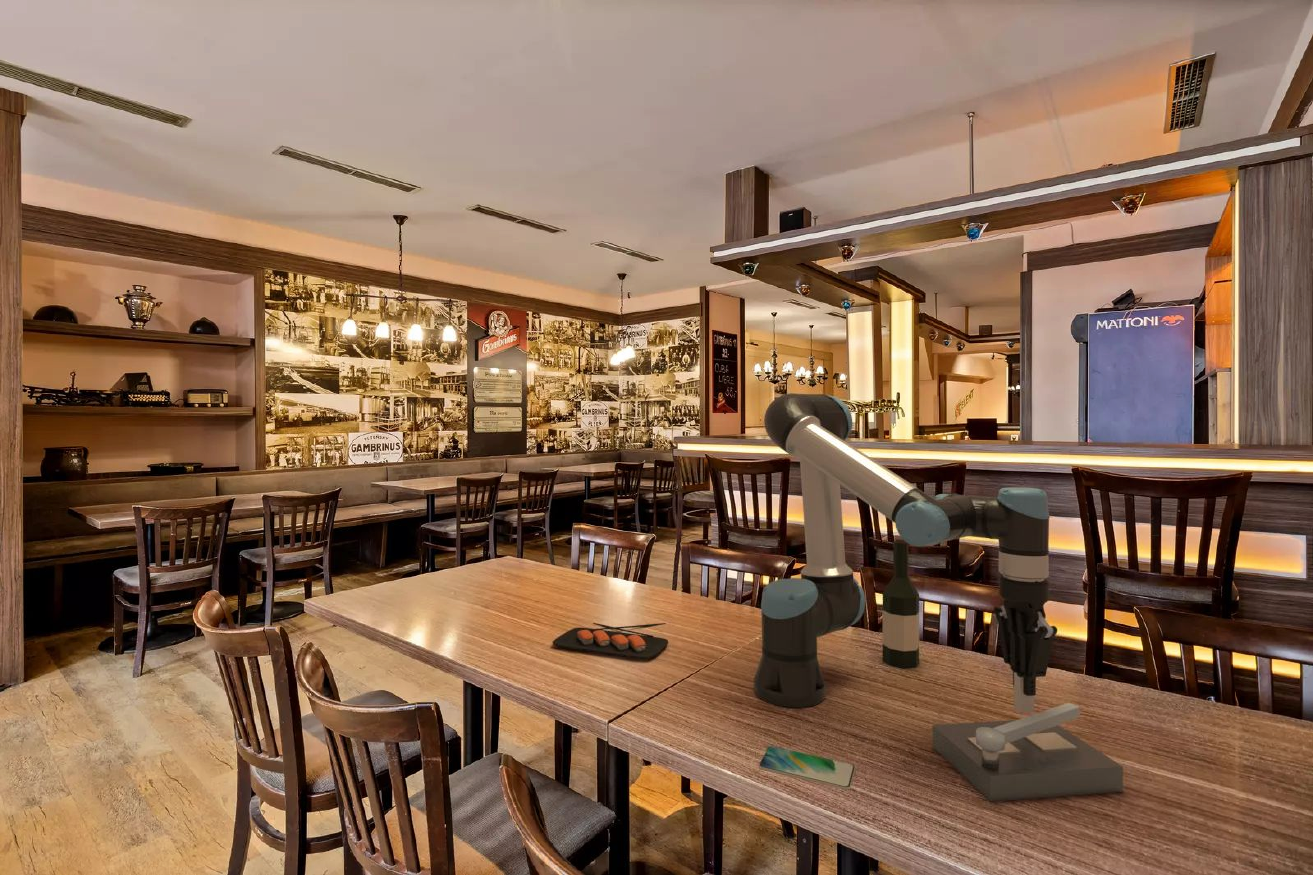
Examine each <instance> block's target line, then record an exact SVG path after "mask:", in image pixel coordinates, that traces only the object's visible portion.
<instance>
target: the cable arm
mask: <svg viewBox="0 0 1313 875" xmlns="http://www.w3.org/2000/svg"><path fill="white" fill-rule="evenodd" d="M1080 711H1081V707H1080V706H1078V705H1076V704H1074V703H1071V702H1067V703H1064V704H1061V705H1058V706H1055V707H1052V708H1048V709H1046V710H1042V711H1040V712H1038V713H1034V714H1031V715H1028V716H1025V717H1023V718H1020V719H1015V720H1016V721H1013V722H1010V723H1007V724H1004V725H1001V726H998V727H995V728H988V727H980V728H977V729H976V744H977V745H978V746H980V747H981V748H983V749H986V750H989V751H1003V750H1004V749H1005V744H1007V743H1009V742H1012V741H1015V740H1018V739H1020V738H1023V737H1026V736H1029V735H1032V734H1034V733H1037V732H1040V731H1043V730H1046V729H1048V728H1051V727H1054V726H1057V725H1059V726H1061V725H1062V724H1065V723H1068V722H1071V721H1073V720H1076V719H1078V718H1080V717H1081V714H1080Z"/></svg>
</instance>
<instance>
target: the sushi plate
mask: <svg viewBox="0 0 1313 875" xmlns="http://www.w3.org/2000/svg"><path fill="white" fill-rule="evenodd" d="M592 624H593V625H596V626H598V627H600V628H593V627H592V628H590V627H574V628H571V629H569V630H568V631H566V632H564V633H562V634H560V635H559V636H558V637H556V638H554V640H553V641H552V645H554V646H556V647H560V648H566V649H573V650H578V651H579V650H580V651H585V652H586V651H587V652H594V653H599V654H606V655H607V654H608V655H614V656H618V657H619V656H620V657H628V658H634V659H644V660H645V659H652V658H654V657H655V656H657V655H659V654H660V652H661V651H662V650H664V649H665V648H666V647H667V645H668V644H669V640H668V639H667V638H663V637H659V636H658V637H657V636H654V635H653V634H648V633H643V632H637V631H632V630H628V629H631V628H632V629H634V628H635V629H636V628H648V627H649V628H650V627H657V626H661V625H666V624H667V623H666V622H663V623H659V622H658V623H651V624H649V623H648V624H637V625H628V626H615V627H614V626H610V625H605V624H602V623H601V624H600V623H598V622H597V623H595V622H592ZM601 627H602V628H601ZM613 630H614V631H613Z"/></svg>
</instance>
